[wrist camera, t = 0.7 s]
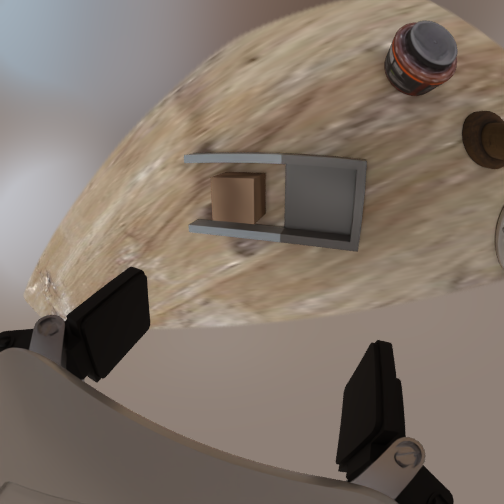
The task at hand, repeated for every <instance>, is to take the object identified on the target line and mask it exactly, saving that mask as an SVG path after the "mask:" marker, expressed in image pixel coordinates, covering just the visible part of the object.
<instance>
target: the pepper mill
mask: <svg viewBox="0 0 504 504" xmlns="http://www.w3.org/2000/svg"><path fill="white" fill-rule="evenodd" d="M462 136H463V142H464V146H465V149H466V151H467V152H468V154H469V156H470V157H471V158H472V159H473V160H474V161H475V162H476V163H477V164H479V165H481V166H483V167H487V168H491V169H499V168H502V167H503V166H504V121H503V120H502V119H501V118H500V117H499V116H498V115H496V114H495V113H493V112H490V111H479V112H474V113H472V114H470V115H469V116H468V117H467V119H466V120H465V123H464V125H463V132H462Z"/></svg>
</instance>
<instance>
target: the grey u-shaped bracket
mask: <svg viewBox="0 0 504 504" xmlns="http://www.w3.org/2000/svg"><path fill="white" fill-rule="evenodd" d="M211 162H236V163H275V164H286V183H285V226H284V227H278V226H268V225H258V224H247V223H236V222H225V221H214V220H202V219H197V220H196V221H194V222H192V223H191V224H189V232H193V233H203V234H212V235H221V236H230V237H239V238H248V239H257V240H265V241H274V242H283V243H291V244H300V245H308V246H316V247H324V248H333V249H341V250H349V251H357V252H358V246H359V239H360V231H361V223H362V214H363V205H364V194H365V182H366V167H367V161H366V160H365V159H356V158H347V157H336V156H324V155H310V154H292V153H262V152H219V153H193V154H187V155H184V163H211Z"/></svg>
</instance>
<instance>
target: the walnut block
mask: <svg viewBox="0 0 504 504" xmlns="http://www.w3.org/2000/svg"><path fill="white" fill-rule="evenodd" d="M211 198H212V217H213V220H214V221H225V222H236V223H247V224H255V223H256V222H257V221H258V220H259V219H260V218H261V217H262V216H263V215H264V214H265V173H247V172H225V173H222V174H219V175H216V176H213V177H211Z"/></svg>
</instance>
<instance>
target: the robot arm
mask: <svg viewBox="0 0 504 504" xmlns="http://www.w3.org/2000/svg"><path fill="white" fill-rule="evenodd" d="M495 238H496V253H497V257H498V260H499V262H500V264H501V266H502V268H503V269H504V208H503V210H502V212H501V215H500V218H499V221H498V225H497V229H496V237H495ZM66 317H67V320H66V321H65V322H64V320H63V319H62V318H61V317H60V316H57V315H47V316H44V317H42V318H41V319H39V320H38V321H37V322H36V324H35V326H34V329H26V330H14V331H4V332H1V333H0V504H453V496H452V494H451V493H450V491H449V490H448V489H447V488H445V486H444V485H443V484H442V483H441V482H439V481H438V479H436V478H435V476H434V475H432V474H431V473H430V472H429V471H428V469H426V467H425V466H424V465H423V464H424V462H425V450H424V448H423V446H422V445H421V444H420V443H419V441H417V440H415V439H413V438H410V437H406V436H405V419H404V406H403V395H402V386H401V381H400V380H399V379H398V378H396V371H395V363H394V356H393V349H392V344H391V343H389V342H385V341H380V340H377V341H376V342H375V343H371V344H370V345H369V348H368V349H367V351H366V353H365V355H364V357H363V358H362V360H361V362H360V364H359V365H358V367H357V368H356V370H355V372H354V373H353V375H352V377H351V378H350V380H349V382H348V383H347V385H346V387H345V390H344V396H343V407H342V417H341V426H340V434H339V442H338V449H337V456H336V464H339V470H338V471H340V472H347V474H346V478H347V479H348V480H346V481H341V480H335V479H330V478H325V477H320V476H314V475H309V474H304V473H299V472H295V471H290V470H286V469H282V468H278V467H274V466H270V465H266V464H262V463H259V462H255V461H252V460H249V459H245V458H242V457H239V456H236V455H232V454H230V453H227V452H224V451H221V450H218V449H215V448H212V447H210V446H207V445H205V444H202V443H200V442H197V441H195V440H192V439H190V438H187V437H185V436H183V435H180V434H178V433H176V432H174V431H171V430H169V429H167V428H165V427H163V426H161V425H159V424H157V423H154V422H152V421H151V420H149V419H147V418H145V417H142V416H141V415H139V414H137V413H135V412H133V411H131V410H130V409H128V408H126V407H124V406H122V405H120V404H119V403H117V402H115V401H114V400H112V399H110V398H109V397H107V396H105V395H104V394H102V393H101V392H99V391H97V390H96V389H94V388H93V387H91V386H90V385H88V384H87V383H85V382H84V378H85V377H86V376H88V377H89V378H91V379H92V380H94V381H95V382H98V381H99V380H100V379H101V378H105V377H106V376H107V375H108V374H109V373H110V371H111V370H112V369H113V368H114V367H115V366H116V365H117V364H118V363H119V361H120V360H121V359H122V358H123V357H124V356H125V355H126V354H127V353H128V351H129V350H130V349H131V348H132V347H133V346H134V345H135V343H137V341H138V340H139V339H140V338H141V337H142V336H143V335H144V334H145V333H146V332H147V330H148V329H149V327H150V314H149V302H148V287H147V277H146V275H145V274H144V271H142V270H140V269H137V268H134V267H129V268H128V269H127V270H125V271H124V272H122V273H121V274H120V275H118V276H117V277H116V278H114V279H113V280H112V281H110V282H109V283H108V284H106V285H105V286H104V287H102V288H101V289H100V290H99V291H97V292H96V293H95V294H93V295H92V296H91V297H89V298H88V299H87V300H86V301H84V302H83V303H82V304H81V305H79V306H78V307H77V308H75V309H74V310H73V311H72V312H70V313H69V314H68V315H67V316H66Z"/></svg>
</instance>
